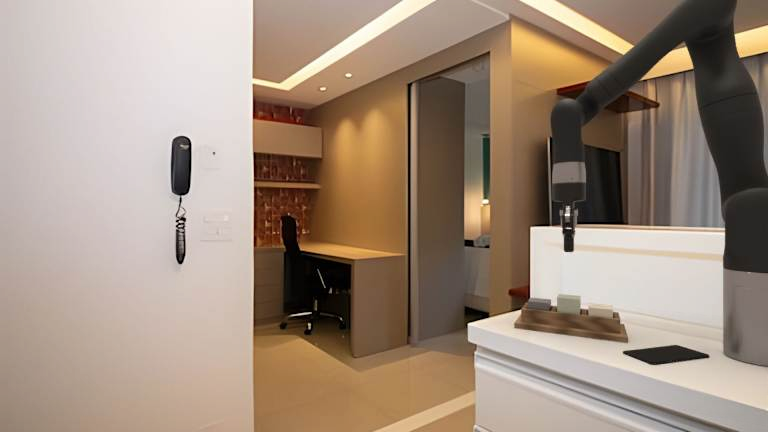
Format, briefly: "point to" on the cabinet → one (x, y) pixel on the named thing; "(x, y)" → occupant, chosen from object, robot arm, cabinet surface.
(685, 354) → the smartphone
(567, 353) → the cabinet surface
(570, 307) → the key sage
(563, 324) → the wooden tray
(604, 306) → the beige cube
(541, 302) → the key charcoal
